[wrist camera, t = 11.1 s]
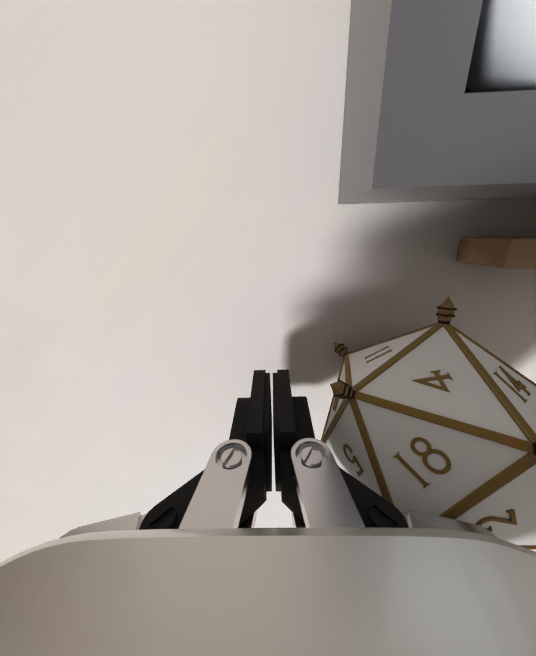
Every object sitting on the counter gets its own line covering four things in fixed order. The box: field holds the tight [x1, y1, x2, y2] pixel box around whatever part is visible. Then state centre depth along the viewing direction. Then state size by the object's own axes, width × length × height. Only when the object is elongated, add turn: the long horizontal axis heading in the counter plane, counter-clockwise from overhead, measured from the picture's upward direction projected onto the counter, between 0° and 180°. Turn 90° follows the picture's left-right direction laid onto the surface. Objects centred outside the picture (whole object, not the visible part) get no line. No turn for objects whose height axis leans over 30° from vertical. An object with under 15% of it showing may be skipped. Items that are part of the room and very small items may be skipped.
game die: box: [321, 297, 536, 549], centre depth 10 cm, size 9×8×10 cm
